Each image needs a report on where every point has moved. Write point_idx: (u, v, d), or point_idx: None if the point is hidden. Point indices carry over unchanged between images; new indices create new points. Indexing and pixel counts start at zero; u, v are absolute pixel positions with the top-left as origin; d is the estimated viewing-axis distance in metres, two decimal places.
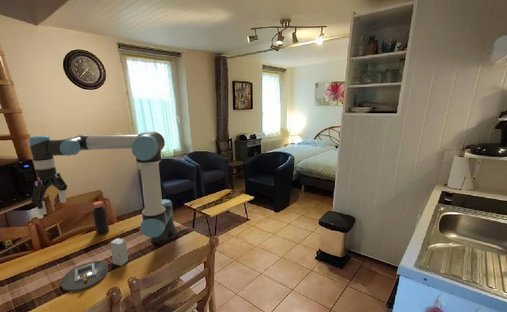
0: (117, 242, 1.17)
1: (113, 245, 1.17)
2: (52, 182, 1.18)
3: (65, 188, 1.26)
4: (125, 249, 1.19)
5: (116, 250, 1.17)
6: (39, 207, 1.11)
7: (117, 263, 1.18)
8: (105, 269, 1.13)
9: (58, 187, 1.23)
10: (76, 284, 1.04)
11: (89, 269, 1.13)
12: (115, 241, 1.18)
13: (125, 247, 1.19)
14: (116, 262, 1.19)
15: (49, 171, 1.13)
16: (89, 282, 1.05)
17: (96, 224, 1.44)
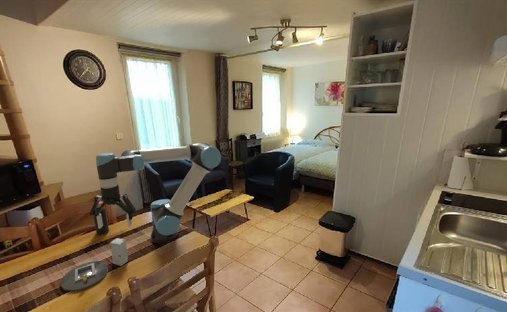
0: (117, 242, 1.17)
1: (113, 245, 1.17)
2: (112, 202, 1.12)
3: (129, 213, 1.14)
4: (125, 249, 1.19)
5: (116, 250, 1.17)
6: None
7: (117, 263, 1.18)
8: (105, 269, 1.13)
9: None
10: (76, 284, 1.04)
11: (89, 269, 1.13)
12: (115, 241, 1.18)
13: (125, 247, 1.19)
14: (116, 262, 1.19)
15: (101, 190, 1.09)
16: (89, 282, 1.05)
17: (96, 224, 1.44)
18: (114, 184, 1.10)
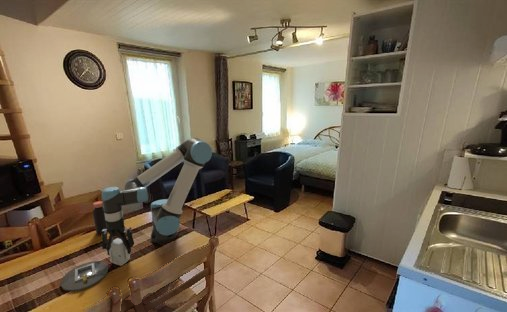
0: (117, 242, 1.17)
1: (113, 245, 1.17)
2: None
3: (127, 248, 1.18)
4: None
5: (116, 250, 1.17)
6: None
7: (118, 263, 1.18)
8: (105, 269, 1.13)
9: None
10: (76, 284, 1.04)
11: (89, 269, 1.13)
12: (115, 241, 1.18)
13: (125, 247, 1.19)
14: (116, 262, 1.19)
15: (107, 224, 1.12)
16: (89, 282, 1.05)
17: (96, 224, 1.44)
18: (119, 217, 1.14)
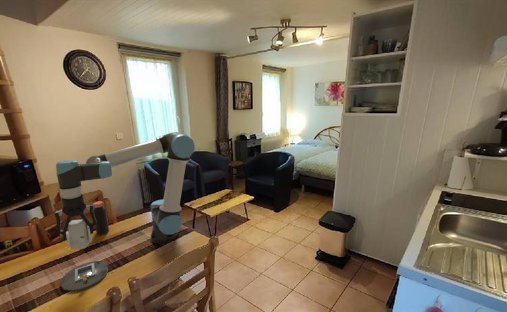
0: (77, 222, 1.04)
1: (72, 227, 1.03)
2: (77, 213, 1.04)
3: (91, 226, 1.07)
4: (87, 229, 1.08)
5: (78, 232, 1.04)
6: (63, 238, 1.03)
7: (79, 246, 1.05)
8: (105, 269, 1.13)
9: (85, 221, 1.07)
10: (76, 284, 1.04)
11: (89, 269, 1.13)
12: (73, 222, 1.04)
13: (86, 227, 1.08)
14: (76, 246, 1.05)
15: (66, 202, 0.99)
16: (89, 282, 1.05)
17: None
18: (81, 192, 1.02)
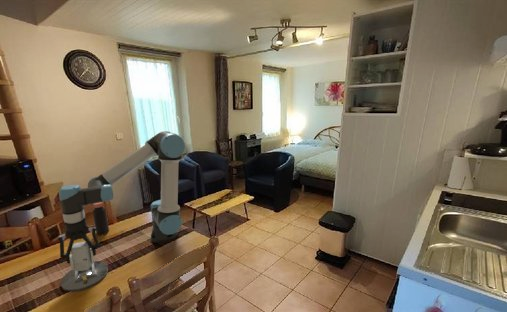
0: (80, 245, 1.06)
1: (75, 250, 1.05)
2: (80, 236, 1.06)
3: (94, 248, 1.09)
4: (89, 251, 1.10)
5: (81, 254, 1.06)
6: (67, 261, 1.05)
7: (82, 268, 1.08)
8: (105, 269, 1.13)
9: None
10: (76, 284, 1.04)
11: (89, 269, 1.13)
12: (76, 245, 1.06)
13: (89, 249, 1.10)
14: (80, 268, 1.07)
15: (69, 226, 1.01)
16: (89, 282, 1.05)
17: (96, 224, 1.44)
18: (83, 216, 1.04)
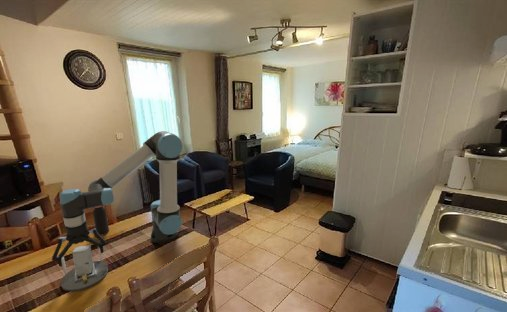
0: (82, 249, 1.07)
1: (76, 254, 1.06)
2: (81, 239, 1.06)
3: (101, 246, 1.11)
4: (91, 255, 1.11)
5: (82, 258, 1.07)
6: (59, 264, 1.04)
7: (84, 272, 1.08)
8: (105, 269, 1.13)
9: None
10: (76, 284, 1.04)
11: None
12: (78, 249, 1.07)
13: (90, 253, 1.10)
14: (81, 272, 1.08)
15: (69, 230, 1.01)
16: (89, 282, 1.05)
17: (96, 224, 1.44)
18: (84, 220, 1.05)
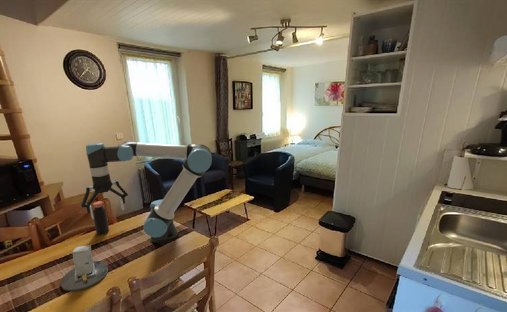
0: (82, 249, 1.07)
1: (76, 254, 1.06)
2: (106, 189, 1.18)
3: (123, 196, 1.23)
4: (91, 255, 1.11)
5: (82, 258, 1.07)
6: (87, 211, 1.15)
7: (84, 272, 1.08)
8: (105, 269, 1.13)
9: (117, 194, 1.23)
10: (76, 284, 1.04)
11: None
12: (78, 249, 1.07)
13: (90, 253, 1.10)
14: (81, 272, 1.08)
15: (96, 179, 1.13)
16: (89, 282, 1.05)
17: (96, 224, 1.44)
18: (108, 171, 1.17)
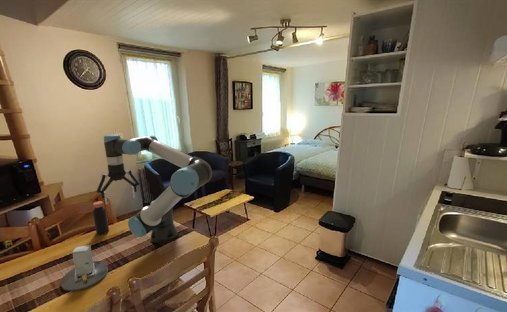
0: (82, 249, 1.07)
1: (76, 254, 1.06)
2: (119, 177, 1.28)
3: (135, 185, 1.32)
4: (91, 255, 1.11)
5: (82, 258, 1.07)
6: (102, 197, 1.25)
7: (84, 272, 1.08)
8: (105, 269, 1.13)
9: None
10: (76, 284, 1.04)
11: None
12: (78, 249, 1.07)
13: (90, 253, 1.10)
14: (81, 272, 1.08)
15: (111, 167, 1.23)
16: (89, 282, 1.05)
17: (96, 224, 1.44)
18: (122, 161, 1.26)
